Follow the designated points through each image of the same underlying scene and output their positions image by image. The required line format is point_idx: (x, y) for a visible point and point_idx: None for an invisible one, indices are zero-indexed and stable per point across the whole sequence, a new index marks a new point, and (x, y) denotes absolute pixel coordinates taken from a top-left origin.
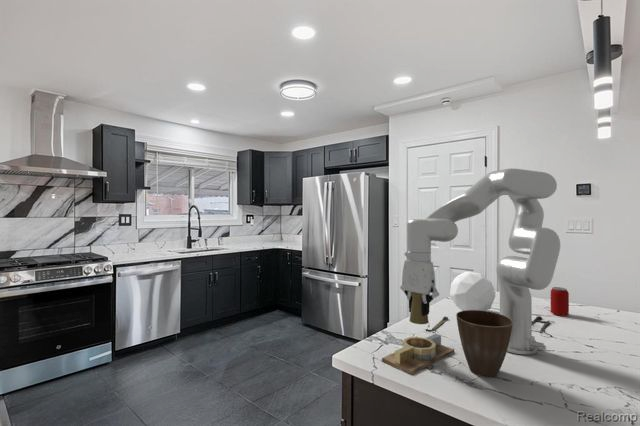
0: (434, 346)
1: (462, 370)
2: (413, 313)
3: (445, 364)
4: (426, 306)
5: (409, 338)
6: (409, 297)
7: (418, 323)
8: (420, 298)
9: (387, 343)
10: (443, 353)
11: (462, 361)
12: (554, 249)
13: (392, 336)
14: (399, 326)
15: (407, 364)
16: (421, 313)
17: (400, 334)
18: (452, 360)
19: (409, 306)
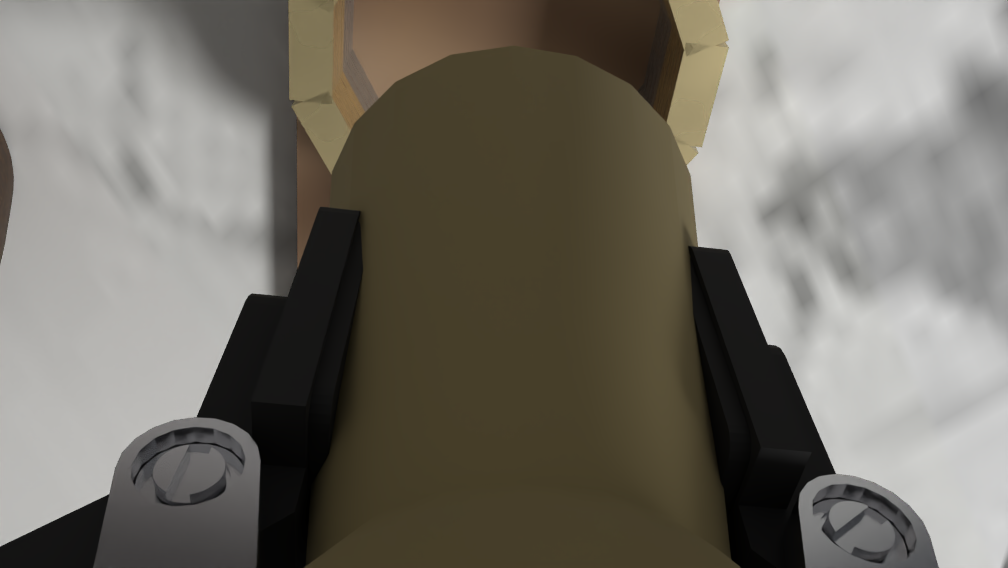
0: (298, 100)
1: (7, 23)
2: (560, 162)
3: (200, 35)
4: (212, 395)
5: (677, 123)
6: (838, 546)
7: (429, 73)
8: (347, 538)
9: (966, 94)
10: (313, 209)
11: (138, 214)
12: None
13: (972, 295)
14: (980, 529)
15: None
16: (367, 229)
17: (908, 385)
18: (211, 172)
19: (747, 323)
